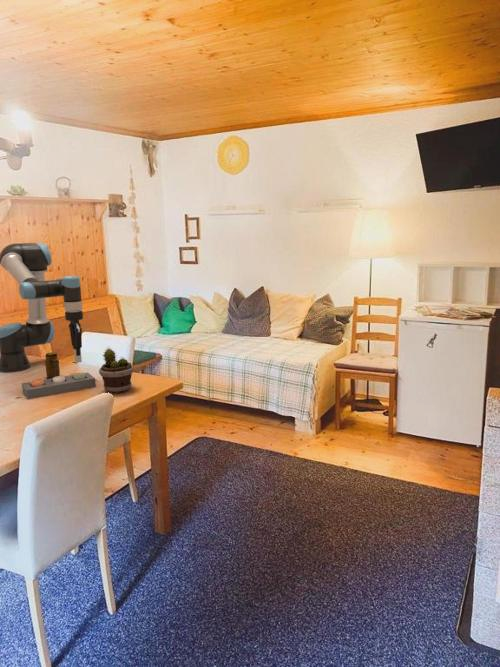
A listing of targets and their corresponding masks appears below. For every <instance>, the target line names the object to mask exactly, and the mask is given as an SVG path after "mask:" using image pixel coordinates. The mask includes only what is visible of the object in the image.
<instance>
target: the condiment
mask: <svg viewBox="0 0 500 667" xmlns="http://www.w3.org/2000/svg"><path fill="white" fill-rule="evenodd" d="M44 362H45V372H46V374H45V375H46V376H43V378H44V379H51V378H53V377H56V376H61V375H60V374H61V371H60V361H59V358H58V352H47V353H46V354H45V360H44Z"/></svg>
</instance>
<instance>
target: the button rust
mask: <svg viewBox="0 0 500 667" xmlns="http://www.w3.org/2000/svg"><path fill="white" fill-rule="evenodd" d="M43 380H44V379H33V380H31V381H30V382H31V386H32V387H36V386H42V385H44V381H43Z"/></svg>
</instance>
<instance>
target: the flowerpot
mask: <svg viewBox="0 0 500 667" xmlns="http://www.w3.org/2000/svg"><path fill="white" fill-rule="evenodd" d="M102 357H103V358H102V359H103V361H104V364H102V365H101V367H100V368H99V370H98V374H99V376H101V378H102V381H103V388H104V391H106V392H107V393H108V392H109V393H108V394H122V393H126V392H128V391H129V390H130V388H131V387H132V385H133V384H132V381H131V380H132V375H133V373H134V371H135V368H134V366H133V365H132V363H131V362H129V361H128V359H126V357H120V358H119V360H117V354H116V351H115V350H113V349H112V348H109V347H106V349H105V351H104V352H103V354H102Z"/></svg>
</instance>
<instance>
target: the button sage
mask: <svg viewBox="0 0 500 667" xmlns="http://www.w3.org/2000/svg"><path fill="white" fill-rule="evenodd" d="M85 373H86V372H76V373H74V374H72V375H73V376H74V380H77V379H83V378H85Z"/></svg>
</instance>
